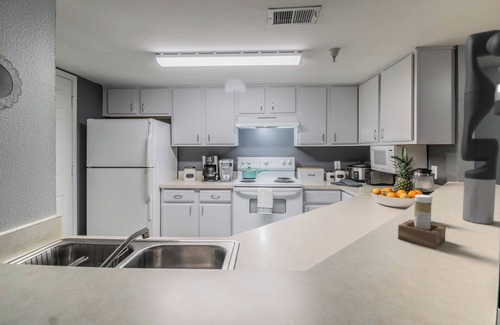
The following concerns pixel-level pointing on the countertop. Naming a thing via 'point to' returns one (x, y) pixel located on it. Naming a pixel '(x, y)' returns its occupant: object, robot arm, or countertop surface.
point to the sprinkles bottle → (422, 212)
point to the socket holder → (421, 234)
